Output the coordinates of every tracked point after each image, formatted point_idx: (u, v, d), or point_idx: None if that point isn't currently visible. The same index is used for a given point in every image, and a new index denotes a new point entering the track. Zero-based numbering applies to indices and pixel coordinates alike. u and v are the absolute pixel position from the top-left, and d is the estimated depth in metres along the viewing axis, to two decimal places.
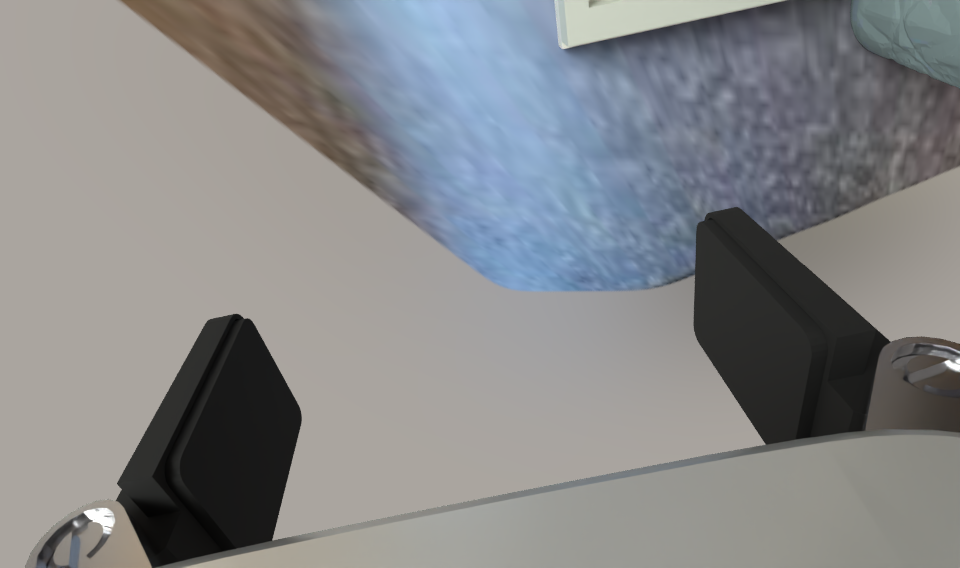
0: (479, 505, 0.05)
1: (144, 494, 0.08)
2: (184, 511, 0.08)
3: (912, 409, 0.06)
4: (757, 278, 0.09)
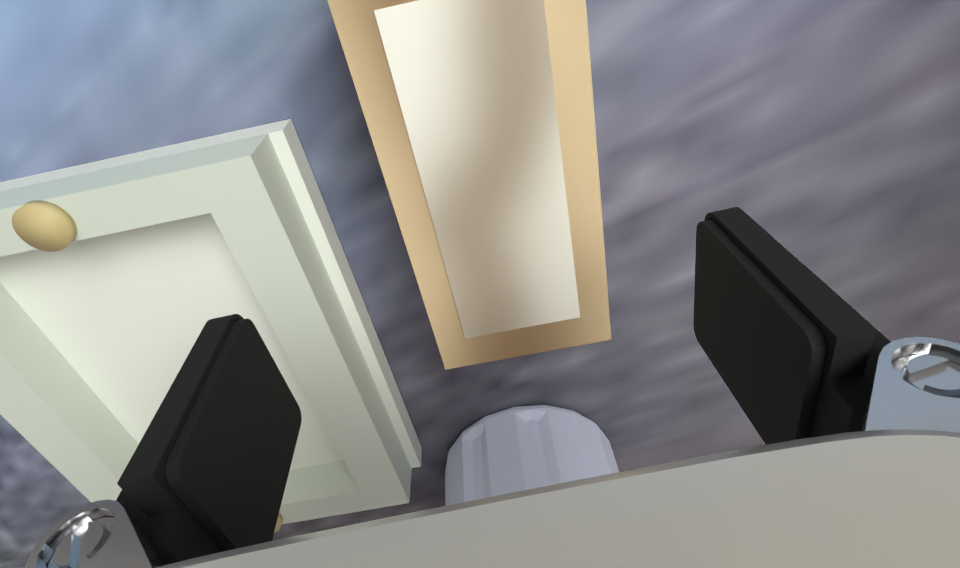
0: (479, 505, 0.05)
1: (144, 494, 0.08)
2: (184, 511, 0.08)
3: (911, 409, 0.06)
4: (757, 278, 0.09)
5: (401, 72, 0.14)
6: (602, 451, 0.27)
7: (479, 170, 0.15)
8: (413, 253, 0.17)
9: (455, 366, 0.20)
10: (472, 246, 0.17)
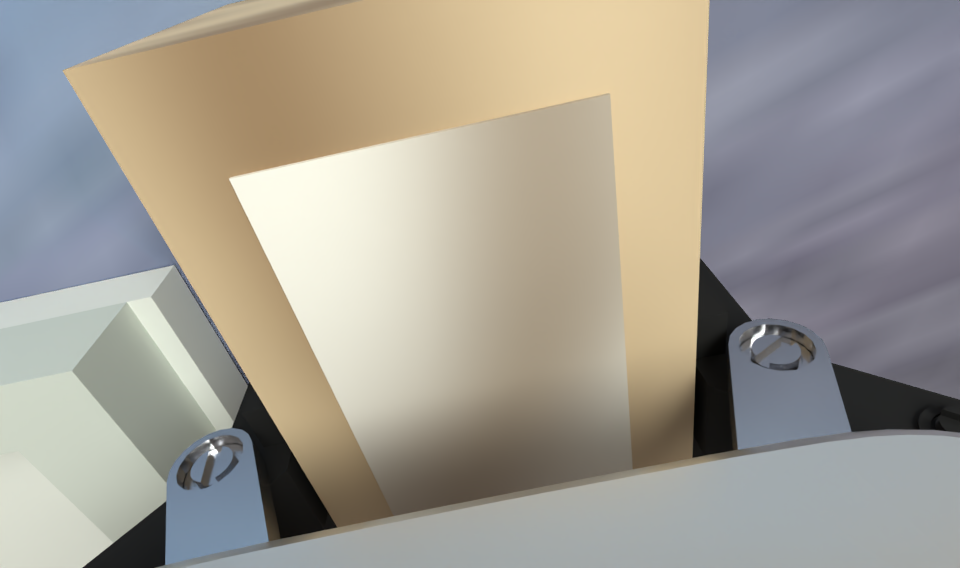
0: (479, 505, 0.05)
1: (263, 424, 0.08)
2: None
3: (765, 388, 0.07)
4: None
5: (305, 289, 0.06)
6: None
7: (472, 433, 0.08)
8: None
9: None
10: None
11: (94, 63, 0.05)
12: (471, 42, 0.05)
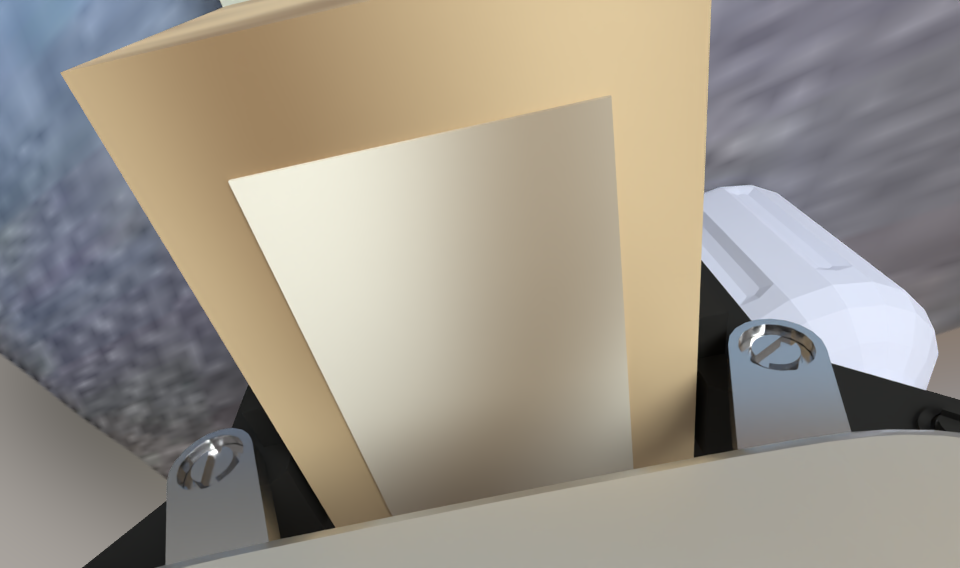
0: (479, 505, 0.05)
1: (264, 423, 0.08)
2: None
3: (765, 388, 0.07)
4: None
5: (304, 292, 0.06)
6: None
7: (472, 435, 0.08)
8: None
9: None
10: None
11: (92, 65, 0.05)
12: (471, 43, 0.05)
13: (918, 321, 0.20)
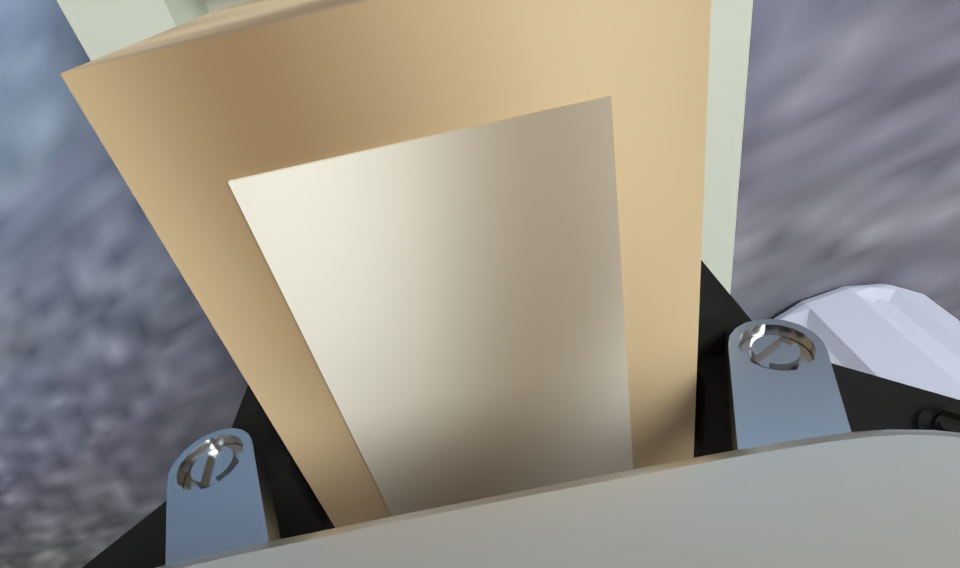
0: (479, 505, 0.05)
1: (264, 423, 0.08)
2: None
3: (765, 388, 0.07)
4: None
5: (304, 293, 0.06)
6: None
7: (472, 436, 0.08)
8: None
9: None
10: None
11: (92, 66, 0.05)
12: (471, 43, 0.05)
13: None
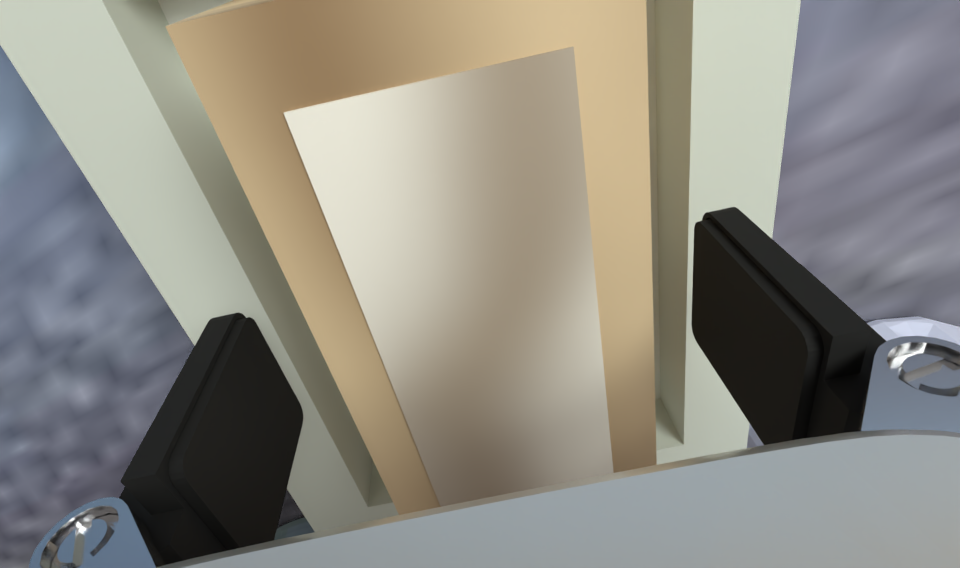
0: (479, 505, 0.05)
1: (148, 492, 0.08)
2: (187, 509, 0.08)
3: (907, 408, 0.06)
4: (754, 278, 0.09)
5: (337, 207, 0.08)
6: None
7: (470, 338, 0.10)
8: (373, 443, 0.11)
9: None
10: (461, 431, 0.11)
11: (188, 21, 0.07)
12: (468, 5, 0.07)
13: None
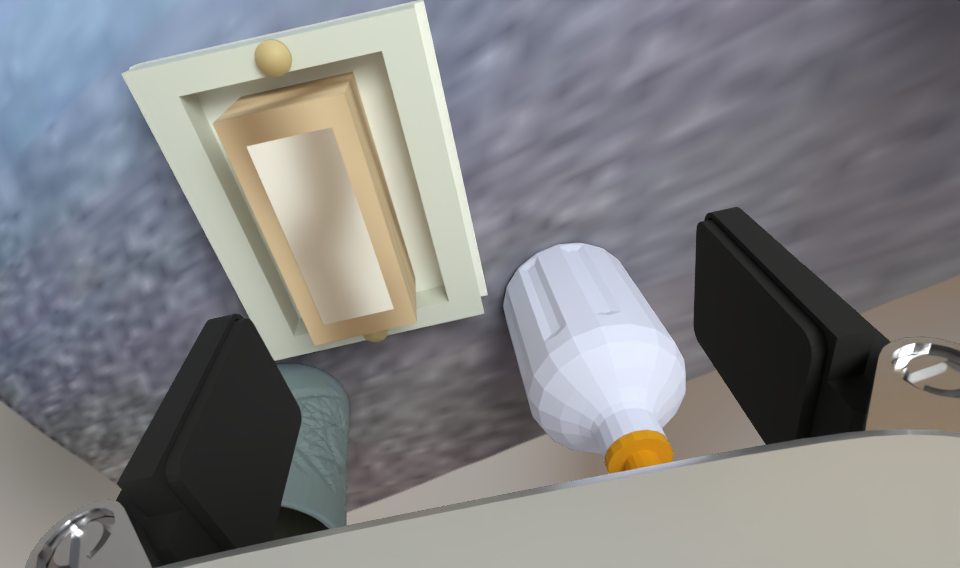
0: (479, 505, 0.05)
1: (144, 494, 0.08)
2: (184, 511, 0.08)
3: (911, 409, 0.06)
4: (757, 278, 0.09)
5: (264, 175, 0.26)
6: (625, 271, 0.36)
7: (316, 225, 0.27)
8: (284, 273, 0.28)
9: (320, 343, 0.31)
10: (319, 268, 0.29)
11: (219, 121, 0.24)
12: (298, 116, 0.24)
13: (660, 351, 0.28)
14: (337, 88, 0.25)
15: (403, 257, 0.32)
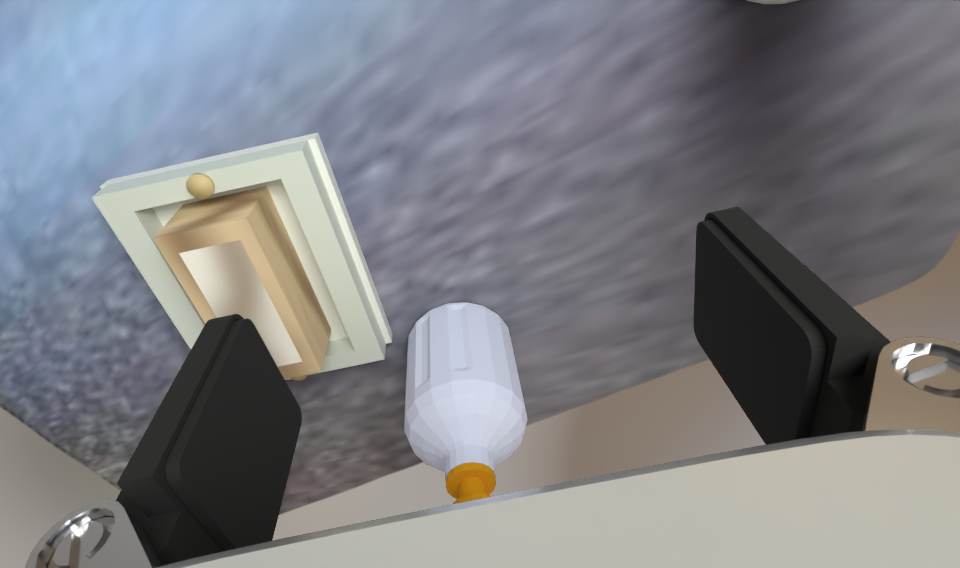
0: (479, 505, 0.05)
1: (144, 494, 0.08)
2: (184, 511, 0.08)
3: (911, 409, 0.06)
4: (757, 278, 0.09)
5: (194, 272, 0.35)
6: (499, 326, 0.45)
7: (235, 304, 0.37)
8: None
9: None
10: None
11: (158, 237, 0.34)
12: (215, 233, 0.34)
13: (496, 401, 0.37)
14: (245, 209, 0.35)
15: (313, 319, 0.41)
